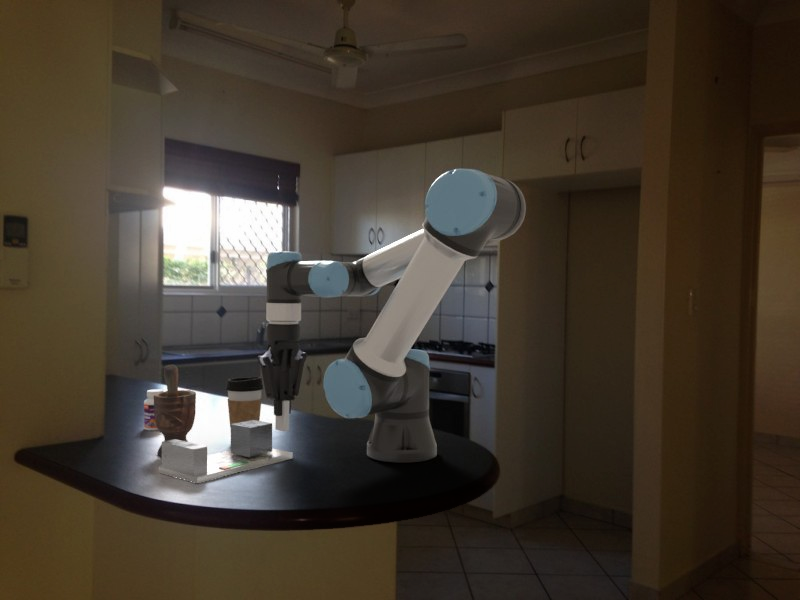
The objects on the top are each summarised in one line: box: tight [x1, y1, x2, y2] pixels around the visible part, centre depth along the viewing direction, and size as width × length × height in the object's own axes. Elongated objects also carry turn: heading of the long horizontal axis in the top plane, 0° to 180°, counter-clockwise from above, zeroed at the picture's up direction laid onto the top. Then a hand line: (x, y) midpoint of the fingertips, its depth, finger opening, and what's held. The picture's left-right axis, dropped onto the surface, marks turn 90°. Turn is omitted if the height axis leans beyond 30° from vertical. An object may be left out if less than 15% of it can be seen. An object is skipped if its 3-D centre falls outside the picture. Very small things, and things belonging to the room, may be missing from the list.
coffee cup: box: [225, 376, 264, 429], centre depth 160 cm, size 8×8×15 cm
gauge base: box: [158, 439, 294, 484], centre depth 139 cm, size 12×24×6 cm, turn 143°
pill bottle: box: [143, 388, 165, 432], centre depth 174 cm, size 5×5×10 cm
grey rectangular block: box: [230, 420, 273, 457], centre depth 143 cm, size 8×6×6 cm
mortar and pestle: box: [154, 364, 197, 457], centre depth 147 cm, size 12×9×20 cm
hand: (282, 429), depth 152 cm, fingers closed
